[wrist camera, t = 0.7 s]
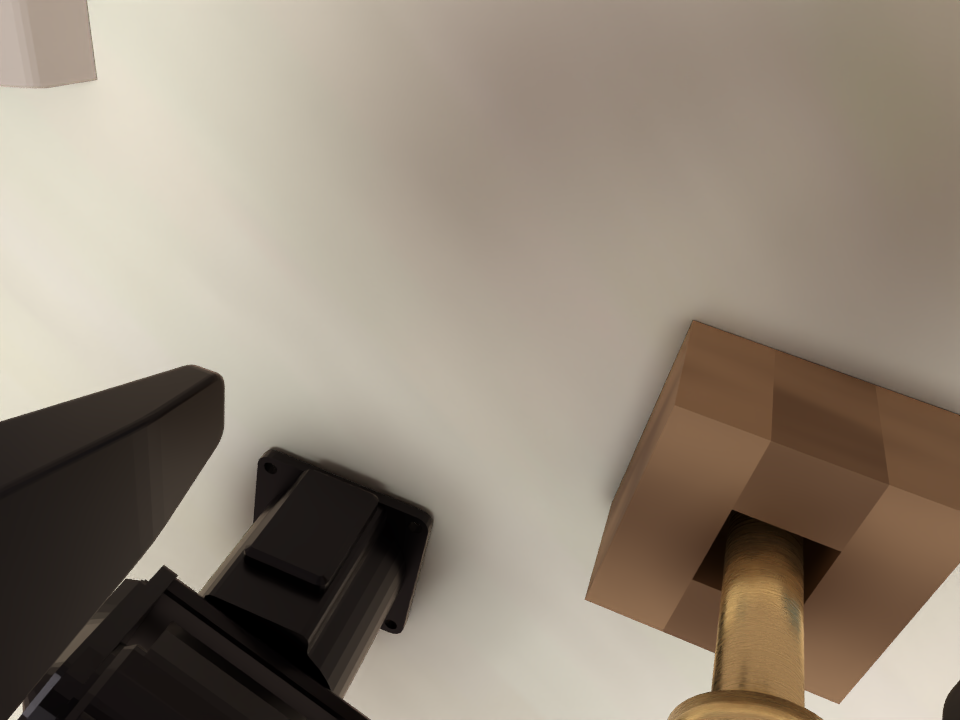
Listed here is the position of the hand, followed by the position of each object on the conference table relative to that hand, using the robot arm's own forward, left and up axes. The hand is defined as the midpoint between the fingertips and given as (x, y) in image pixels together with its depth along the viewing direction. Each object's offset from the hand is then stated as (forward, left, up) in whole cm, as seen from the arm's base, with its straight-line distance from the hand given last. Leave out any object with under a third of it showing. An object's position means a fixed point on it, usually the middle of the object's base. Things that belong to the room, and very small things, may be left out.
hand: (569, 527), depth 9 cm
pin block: (-7, -5, -13) cm, 15 cm away
